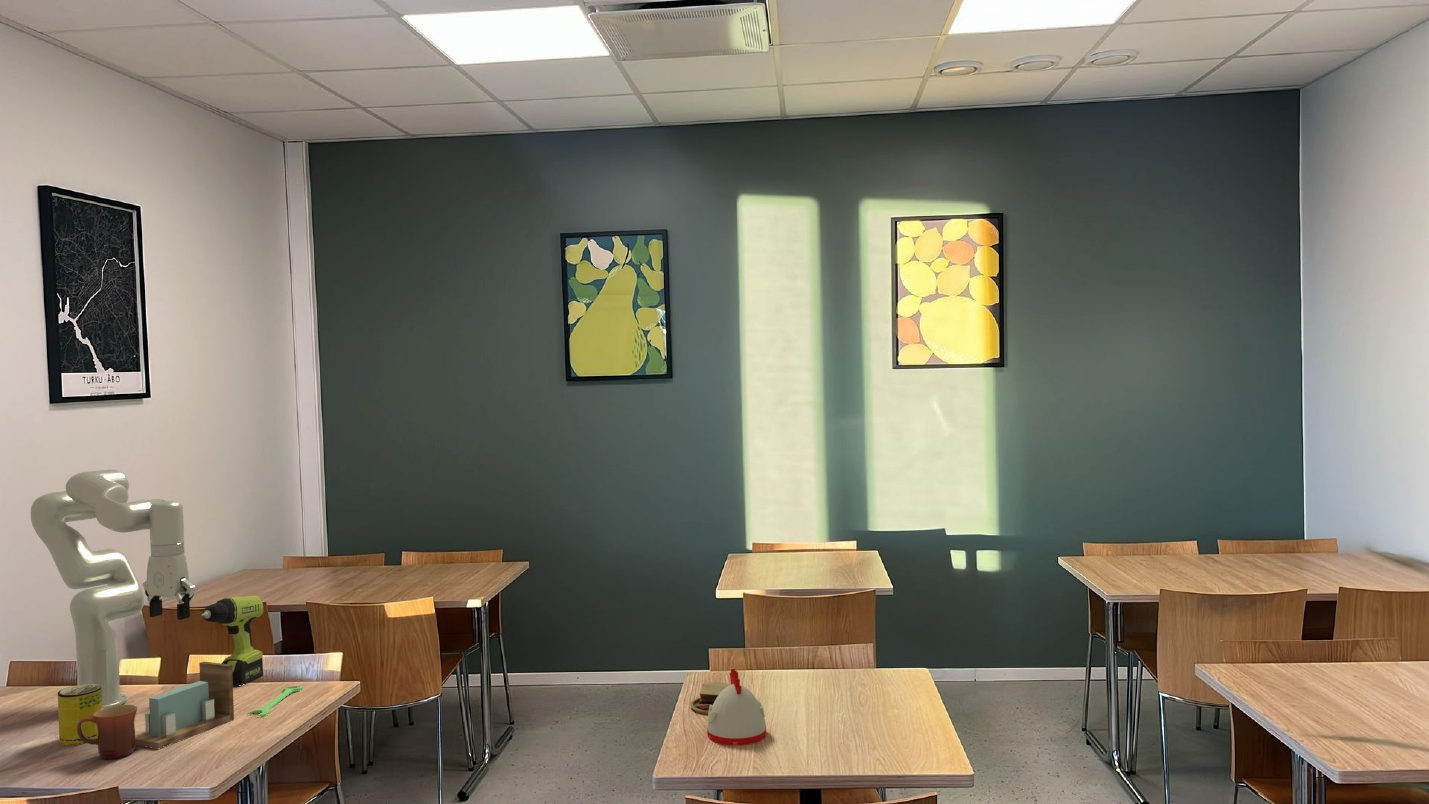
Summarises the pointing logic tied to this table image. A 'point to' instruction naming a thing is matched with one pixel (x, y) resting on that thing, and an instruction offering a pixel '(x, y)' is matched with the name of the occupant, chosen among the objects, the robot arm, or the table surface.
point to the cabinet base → (213, 709)
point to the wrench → (276, 700)
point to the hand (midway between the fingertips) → (169, 617)
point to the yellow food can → (78, 712)
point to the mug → (112, 731)
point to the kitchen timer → (736, 716)
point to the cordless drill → (239, 634)
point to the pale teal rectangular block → (178, 706)
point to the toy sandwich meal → (707, 696)
